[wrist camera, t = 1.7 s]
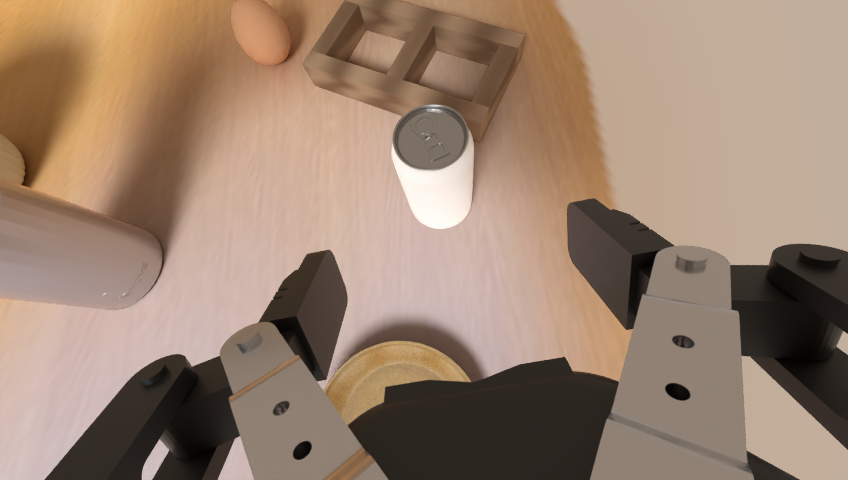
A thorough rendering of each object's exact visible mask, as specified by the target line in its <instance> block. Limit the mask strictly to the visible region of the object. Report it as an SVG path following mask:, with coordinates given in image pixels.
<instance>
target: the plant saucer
mask: <svg viewBox="0 0 848 480" xmlns="http://www.w3.org/2000/svg"><path fill="white" fill-rule="evenodd" d="M423 380H443V381H461V382H471V380H470V379H469V377H468V376H467V374H465V372H464V371H463V370H462V368H460V366H459V365H458V364H457V363H455V362H454V361H453V360H452V359H451V358H449V357H448V356H446V355H445V354H444V353H442V352H440V351H438V350H436V349H435V348H432V347H430V346H427V345H425V344H420V343H417V342H412V341H388V342H383V343H379V344H376V345H374V346H371V347H368V348H366V349H364V350H362V351H360V352H358V353H357V354H355V355H354V356H353V357H351V358H350V359H349V360H348V361H346V362H345V363H344V364H343V365H342V366H341V367H340V368H339V369H338V370H337V371H336V373H335V374H334V375H333V376H332V378H331V379H330V381H329V382H328V384H327V386H326V387H325V389H324V393H325V394H326V395H327V397H328V398H329V400H330V401H331V403H332V404H333V405H334V407H335V408H336V410H337V411H338V413H339V414H340V416H341V417H342V418H343V420H344V421H345V423H346V424H347V426H348V425H349V424H350V423H351V422H352V421H353V420H354V419H356V418H357V417H358V416H359V415H361V414H362V413H364V412H365V411H367V410H369V409H370V408H372V407H374V406H376V405H378V404H380V403H383V402H384V394H385V387H387V386H393V385H399V384H405V383H411V382H417V381H423Z"/></svg>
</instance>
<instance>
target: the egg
mask: <svg viewBox="0 0 848 480" xmlns="http://www.w3.org/2000/svg"><path fill="white" fill-rule="evenodd" d="M231 24H232V29H233V33H234V35H235V38H236V40H237V42H238V43H239V45H240V46H241V48H242V49H243V50H244V52H245V53H246V54H247V55H248V56H249V57H251V58H252V59H254V60H255V61H257V62H259V63H262V64H266V65H277V64H279V63H281V62H283V61H284V60H285V59H286V58H287V56H288V54H289V51H290V46H291V39H290V34H289V31H288V28H287V26H286V24H285V22H284V21H283V19H282V17H281V16H280V15H279V14H278V12H277V11H276V10H275V9H274V8H272V7H271V6H270V5H268V4H267V3H266V2H264V1H262V0H237V1H235V3H234V4H233V7H232V10H231Z"/></svg>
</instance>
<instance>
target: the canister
mask: <svg viewBox="0 0 848 480" xmlns="http://www.w3.org/2000/svg"><path fill="white" fill-rule="evenodd" d="M24 171H25V166H24V160H23V157H22V155H21V153H20V152H19V150H18V149H17V147H16V146H15V145H14V144H13V143H11V142H10V141H9V140H8V139H7V138H6V137H4V136H3V135H1V134H0V177H1V178H4V179H7V180H10V181H12V182H15V183H18V184H21V185H22V183H23V181H24V179H23V178H24V176H25V172H24Z"/></svg>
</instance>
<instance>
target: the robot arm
mask: <svg viewBox="0 0 848 480" xmlns="http://www.w3.org/2000/svg"><path fill="white" fill-rule="evenodd" d="M567 230H568V251H569V255H570V258H571V260H572V262H573V264H574V265H575V266H576V268H577V269H578V270H579V271H580V273H581V274H582V275H583V276H584V278H585V279H586V280H587V281H588V283H589V284H590V285H591V286H592V288H593V289H594V290H595V291H596V293H597V294H598V295H599V296H600V298H601V299H602V300H603V301H604V303H605V304H606V305H607V307H608V308H609V309H610V310H611V312H612V313H613V314H614V315H615V317H616V318H617V319H618V320H619V322H620V323H621V324H622V325H623V327H624V328H625V329H626V330H629V329H633V332H632V335H631V339H630V343H629V347H628V351H627V354H626V358H625V362H624V366H623V370H622V373H621V377H620V381H619V382H618V381H615V380H613V379H610V378H607V377H604V376H600V375H596V374H591V373H585V372H576V371H572V369H571V367H570V366H569V364H568V362H567V360H566V358H565V357H562V358H556V359H550V360H544V361H538V362H532V363H526V364H520V365H517V366H515V367H512V368H510V369H507V370H505V371H502V372H500V373H497V374H495V375H492V376H490V377H487V378H485V379H482V380H480V381H476V382H461V381H443V380H423V381H417V382H411V383H405V384H399V385H393V386H387V387H385V394H384V402H383V403H380V404H378V405H376V406H374V407H372V408H370V409H369V410H367V411H365V412H364V413H362V414H361V415H359V416H358V417H357V418H356V419H354V420H353V421H352V422H351V423H350V424H349V425H348V426H347V424H346V423H345V421H344V420H343V418H342V417H341V416H340V414H339V413H338V411H337V410H336V408H335V407H334V405H333V404H332V403H331V401H330V400H329V398H328V397H327V395H326V394H325V393H324V391H323V390H322V388H321V387H320V385H319V384H318V382H317V381H321V380H326V379H327V375H328V371H329V368H330V364H331V361H332V357H333V354H334V350H335V346H336V343H337V339H338V336H339V332H340V328H341V325H342V321H343V318H344V314H345V311H346V307H347V300H348V299H347V291H346V287H345V284H344V282H343V279H342V276H341V274H340V271H339V268H338V265H337V263H336V260H335V257H334V255H333V253H332V252H331V251H330V250H325V251H320V252H315V253H310V254H307V255H306V257H305V258H304V260H303V262H302V264H301V266H300V267H299V269H298V270H295V271H294V272H293V273H291V274H290V275H289V276H288V277H287V278H286V279H285V280H284V281H283V282H282V284H281V286H280V287H279V289H278V292H276V294H275V296H274V297H273V300H272V301H271V302H270V304H269V306H268V307H267V309H266V311H265V312H264V314H263V316H262V317H261V319H260V321H259V322H258V323H255V324H252V325H250V326H247V327H245V328H243V329H241V330H240V331H238V332H236V333H235V334H234V335H232V336H231V337H230V338H229V339H228V340H227V341H226V342H225V343H224V345H223V346H222V348H221V350H220V356H218V357H216V358H213V359H211V360H208V361H206V362H203V363H200V364H198V365H195V366H193V367H192V366H191V364H190V363H189V362H188V360H187V359H186V357H185V356H183V355H180V354H175V355H169V356H166V357H163V358H161V359H158V360H156V361H154V362H152V363H150V364H149V365H147V366H146V367H144V368H143V369H141V370H140V371H139V372H137V373H136V374H135V375H134V376H133V377H132V378H131V379H130V380H129V381H128V382H127V383H126V384H125V385H124V386H123V388H122V389H121V390H120V391H119V392H118V394H117V395H116V396H115V397H114V398H113V399H112V401H111V402H110V403H109V404H108V405H107V407H106V408H105V409H104V410H103V411H102V412H101V414H100V415H99V416H98V417H97V418H96V420H95V421H94V422H93V423H92V424H91V425H90V427H89V428H88V429H87V430H86V431H85V433H84V434H83V435H82V436H81V437H80V438H79V440H78V441H77V442H76V443H75V444H74V446H73V447H72V448H71V449H70V450H69V452H68V453H67V454H66V455H65V456H64V457H63V459H62V460H61V461H60V462H59V463H58V465H57V466H56V467H55V468H54V469H53V470H52V472H51V473H50V474H49V475H48V476H47V478H46V479H45V480H142V478H141V477H142V469H143V466H144V464H145V461H146V460H147V458H148V456H149V455H150V453H151V452H152V450H153V448H154V447H155V445H156V444H157V442H158V440H159V439H160V440H161V441H162V442H163V443H164V444H165V446H166V447H167V448H168V449H169V452H168V454H167V455H166V457H165V459H164V461H163V462H162V464H161V466H160V467H159V469H158V471H157V473H156V474H155V476H154V478H153V479H152V480H218V477H219V475H220V473H221V470H222V468H223V465H224V463H225V461H226V458H227V456H228V454H229V451H230V449H231V447H232V444H233V442H234V439H235V438H237V437H239V436H240V437H241V440H242V443H243V446H244V449H245V452H246V455H247V458H248V462H249V465H250V468H251V471H252V474H253V477H254V480H799V479H797V478H795V477H794V476H792V475H790V474H788V473H786V472H785V471H783V470H780V469H779V468H777V467H775V466H774V465H772V464H770V463H768V462H766V461H764V460H763V459H761V458H759V457H757V456H755V455H753V454H752V453H750V452H748V451H746V434H745V415H744V396H743V379H742V359H741V356H751V358H752V359H753V360H754V361H755V362H756V363H757V364H758V365H759V366H761V368H762V369H764V370H765V371H766V372H767V373H768V374H769V375H770V376H771V377H772V378H773V379H774V380H775V381H776V382H777V383H778V384H779V385H780V386H781V387H782V388H784V389H785V390H786V391H787V392H788V393H789V394H790V395H791V396H792V397H793V398H794V399H795V400H796V401H797V402H798V403H799V404H800V405H802V407H803V408H805V409H806V410H807V411H808V412H809V413H810V414H811V415H812V416H813V417H814V418H815V419H816V420H817V421H818V422H819V423H820V424H821V425H822V426H823V427H824V428H826V429H827V430H828V431H829V432H830V433H831V434H832V435H833V436H834V437H835V438H836V439H837V440H838V441H839V442H840V443H841V444H842V445H843V446H844V447H845V448H846V449H848V355H847V354H846V353H844V352H843V351H841V350H840V349H839V348H837V347H836V346H837V344H838V341H839V339H840V337H841V335H842V332H843V331H845V332H846V333H847V334H848V252H846V251H843V250H840V249H836V248H832V247H827V246H821V245H812V244H790V245H784V246H781V247H778V248H776V249H775V250H774V251H773V253H772V256H771V260H770V263H769V265H730V263H729V261H728V260H727V259H726V258H725V257H724V256H722V255H721V254H719V253H717V252H715V251H712V250H709V249H705V248H701V247H694V246H674V245H673V244H671V243H670V242H668V241H667V240H665V239H664V238H663V237H661V236H660V235H658V234H657V233H656V232H654V231H653V230H649V228H648V227H647V226H645V225H644V224H642V223H640V221H638V220H637V219H635V218H634V217H633V216H631V215H630V214H627V213H624V212H621V211H617V210H614V209H613V210H610V209H608V208H607V207H606V206H604V205H603V204H602V203H600V202H599V201H597V200H596V199H594V198H592V199H587V200H582V201H577V202H572V203H569V205H568V208H567ZM161 265H162V249H161V246H160V243H159V242H158V240H157V238H156V237H155V236H154V235H153V234H152V233H150V232H148V231H146V230H144V229H141V228H138V227H135V226H133V225H130V224H127V223H124V222H122V221H119V220H116V219H114V218H111V217H108V216H106V215H103V214H100V213H97V212H95V211H92V210H89V209H86V208H84V207H81V206H78V205H75V204H73V203H70V202H67V201H65V200H62V199H59V198H56V197H54V196H51V195H48V194H45V193H43V192H40V191H37V190H34V189H32V188H29V187H26V186H23V185H21V184H18V183H15V182H12V181H10V180H7V179H4V178H1V177H0V298H3V299H13V300H22V301H31V302H41V303H50V304H60V305H68V306H77V307H87V308H96V309H106V310H117V309H122V308H125V307H127V306H130V305H132V304H134V303H135V302H137V301H138V300H140V299H141V298H142V297H143V296H144V295H145V294H146V293H147V292H148V291H149V290H150V289H151V287H152V286H153V285H154V283H155V281H156V279H157V278H158V275H159V272H160V270H161Z"/></svg>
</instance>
